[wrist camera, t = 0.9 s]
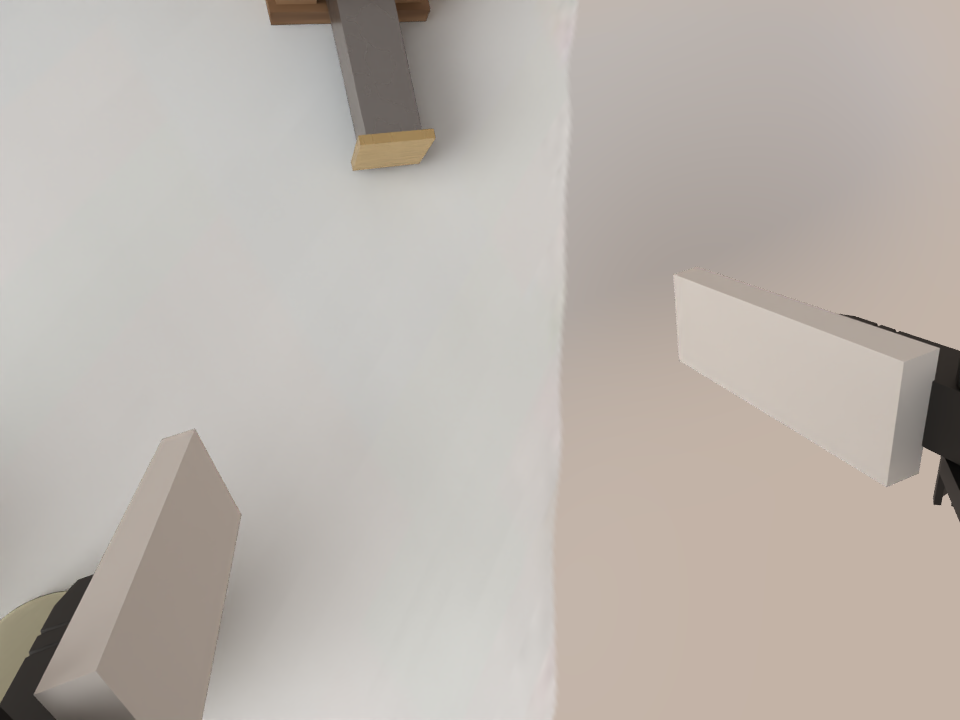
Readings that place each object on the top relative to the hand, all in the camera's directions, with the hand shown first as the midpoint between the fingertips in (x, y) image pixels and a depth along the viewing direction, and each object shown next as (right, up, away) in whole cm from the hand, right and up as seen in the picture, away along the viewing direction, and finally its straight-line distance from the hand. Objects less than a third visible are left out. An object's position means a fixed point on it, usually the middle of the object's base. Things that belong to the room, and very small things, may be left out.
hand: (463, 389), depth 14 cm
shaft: (-8, +24, +23) cm, 35 cm away
